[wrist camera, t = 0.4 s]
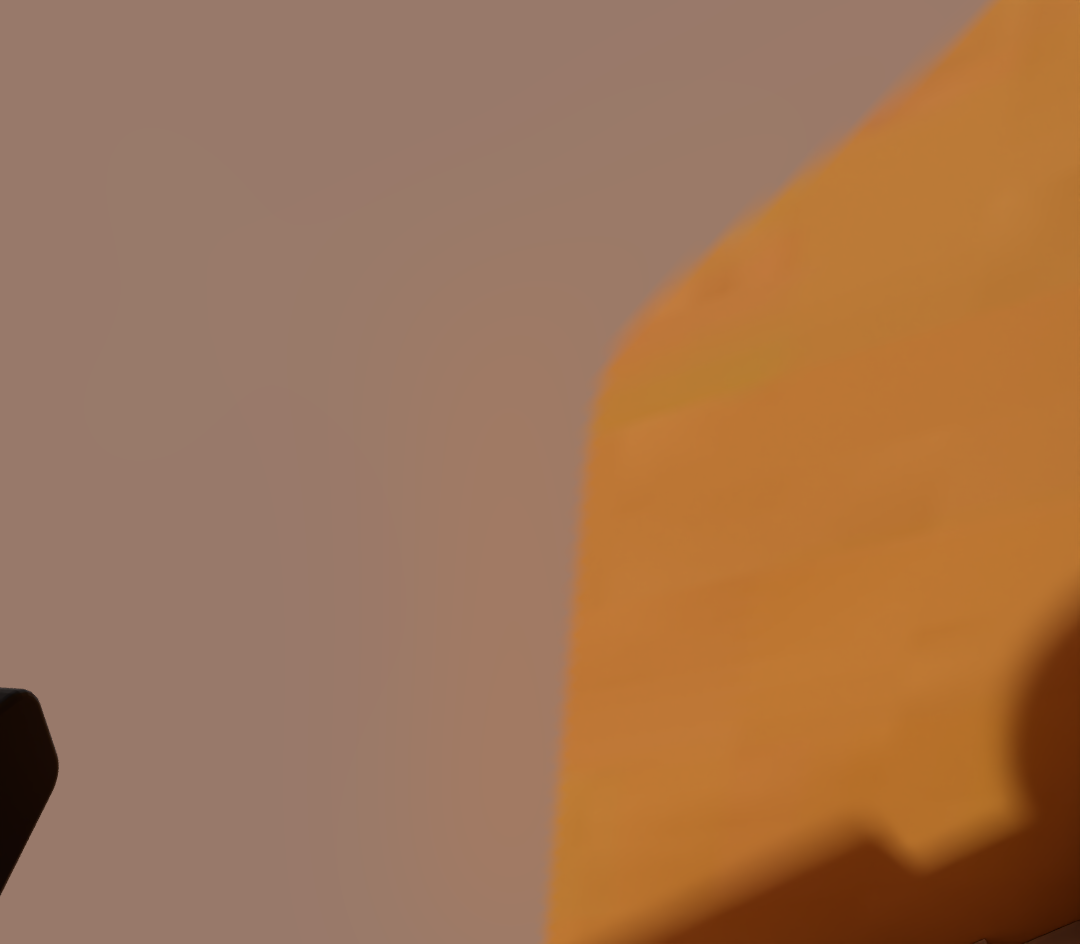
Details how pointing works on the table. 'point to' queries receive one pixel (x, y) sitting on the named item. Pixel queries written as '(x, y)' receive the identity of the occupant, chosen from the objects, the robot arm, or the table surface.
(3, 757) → the robot arm
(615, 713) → the table surface
